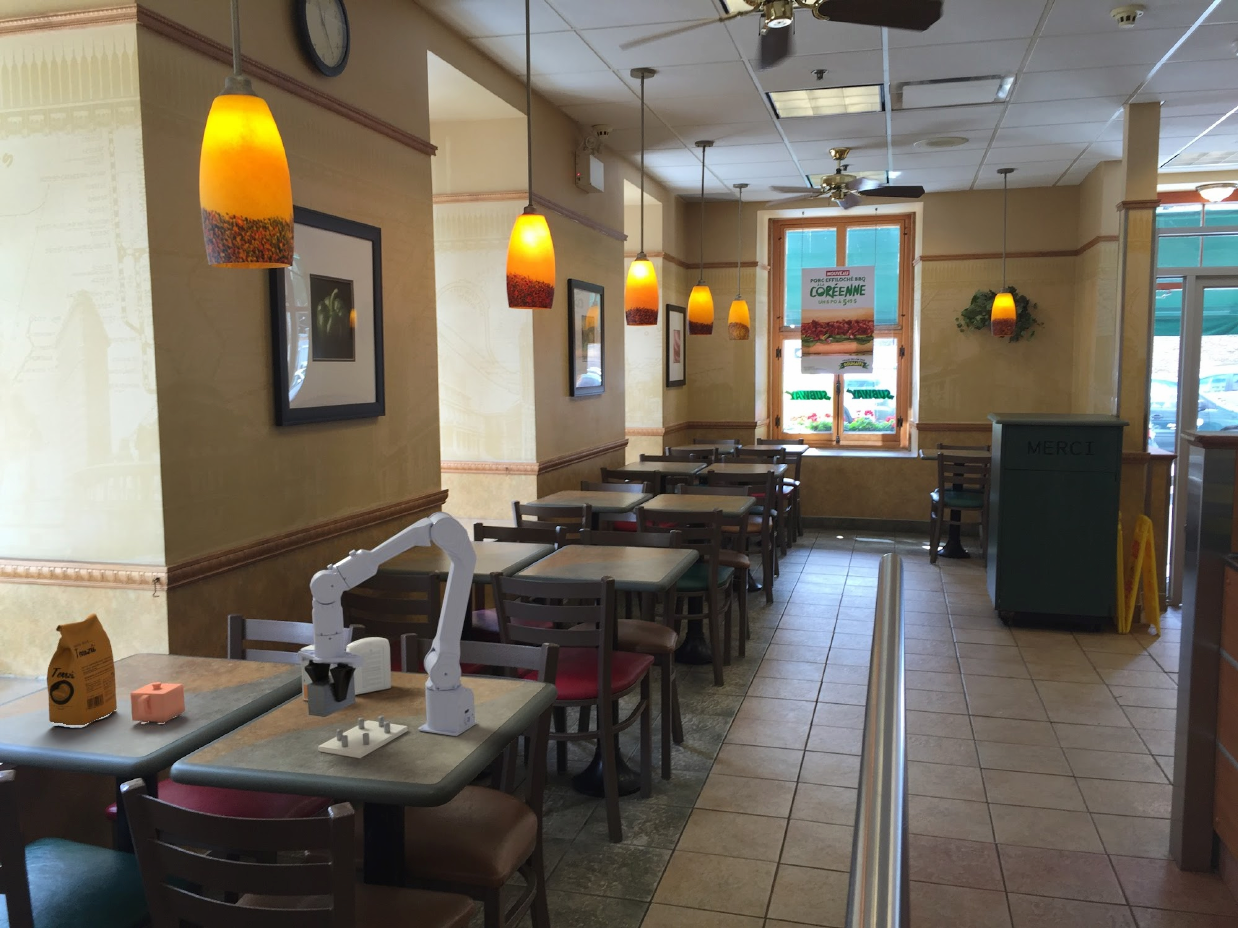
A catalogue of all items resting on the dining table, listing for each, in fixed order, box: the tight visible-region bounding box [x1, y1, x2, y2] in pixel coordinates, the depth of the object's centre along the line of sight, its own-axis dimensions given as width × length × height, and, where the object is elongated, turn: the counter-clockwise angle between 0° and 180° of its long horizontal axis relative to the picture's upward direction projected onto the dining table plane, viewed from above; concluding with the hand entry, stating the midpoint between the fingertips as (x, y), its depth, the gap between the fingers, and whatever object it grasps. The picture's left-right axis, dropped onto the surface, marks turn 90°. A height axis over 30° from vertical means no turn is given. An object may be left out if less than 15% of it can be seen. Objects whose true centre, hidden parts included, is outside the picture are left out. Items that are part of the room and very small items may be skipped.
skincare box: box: [300, 644, 335, 702], centre depth 216 cm, size 6×4×12 cm
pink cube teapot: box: [129, 681, 186, 724], centre depth 205 cm, size 8×12×8 cm, turn 170°
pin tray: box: [317, 715, 408, 759], centre depth 190 cm, size 10×15×3 cm, turn 156°
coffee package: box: [46, 613, 118, 725], centre depth 206 cm, size 10×12×22 cm
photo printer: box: [345, 636, 392, 696], centre depth 221 cm, size 10×4×12 cm, turn 123°
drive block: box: [307, 673, 356, 718], centre depth 189 cm, size 4×9×6 cm, turn 156°
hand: (332, 699), depth 189 cm, fingers closed on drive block, 4 cm apart
